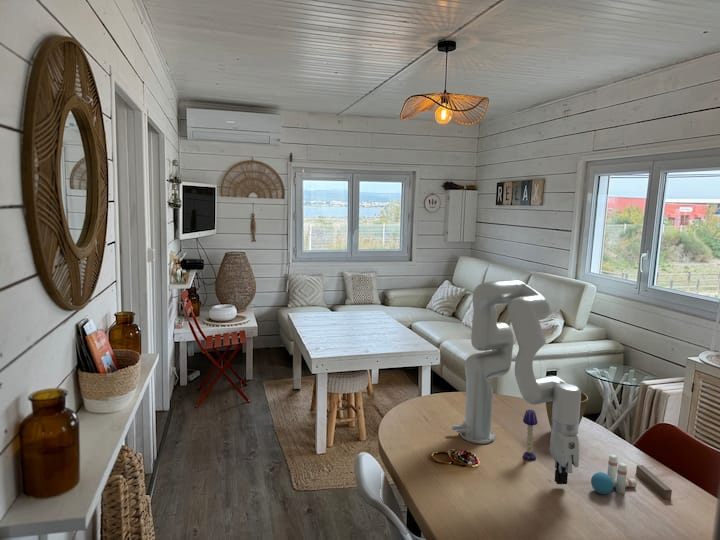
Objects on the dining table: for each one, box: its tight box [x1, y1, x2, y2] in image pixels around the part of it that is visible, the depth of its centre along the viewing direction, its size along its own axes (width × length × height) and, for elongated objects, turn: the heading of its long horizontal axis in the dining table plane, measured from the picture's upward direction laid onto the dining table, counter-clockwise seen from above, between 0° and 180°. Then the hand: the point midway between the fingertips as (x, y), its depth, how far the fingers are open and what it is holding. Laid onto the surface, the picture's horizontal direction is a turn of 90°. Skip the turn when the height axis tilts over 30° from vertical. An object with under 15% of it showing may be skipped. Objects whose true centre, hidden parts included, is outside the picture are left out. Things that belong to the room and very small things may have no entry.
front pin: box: [612, 477, 637, 488], centre depth 152 cm, size 2×2×8 cm
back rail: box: [635, 464, 673, 501], centre depth 153 cm, size 2×14×3 cm, turn 3°
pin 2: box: [615, 462, 628, 495], centre depth 150 cm, size 2×2×8 cm
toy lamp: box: [522, 409, 538, 462], centre depth 168 cm, size 5×5×17 cm
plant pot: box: [545, 391, 589, 432], centre depth 186 cm, size 15×15×16 cm
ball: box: [590, 471, 614, 495], centre depth 149 cm, size 6×6×6 cm
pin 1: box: [606, 454, 619, 479], centre depth 155 cm, size 2×2×8 cm
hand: (560, 482), depth 152 cm, fingers closed
